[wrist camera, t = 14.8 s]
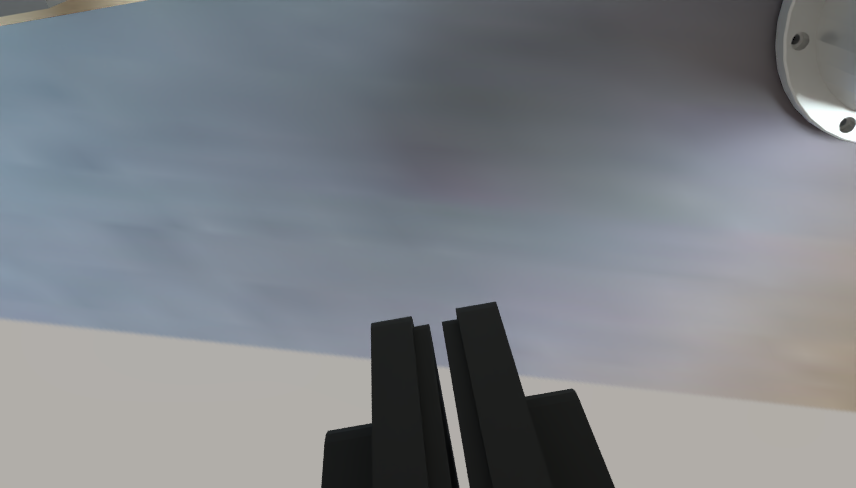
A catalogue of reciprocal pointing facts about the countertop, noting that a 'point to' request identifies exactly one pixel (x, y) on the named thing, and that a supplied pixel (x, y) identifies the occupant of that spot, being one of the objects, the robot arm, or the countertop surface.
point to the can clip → (25, 6)
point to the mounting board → (63, 10)
